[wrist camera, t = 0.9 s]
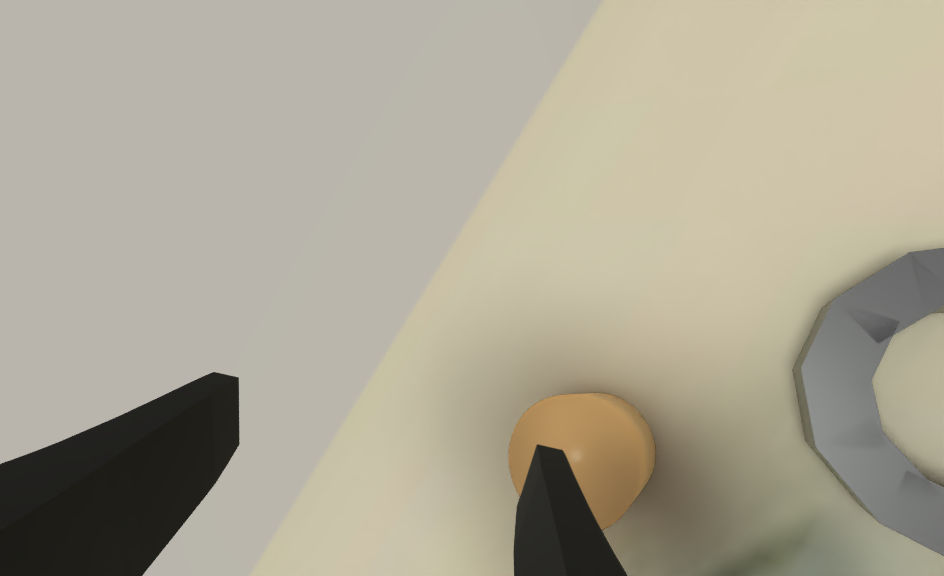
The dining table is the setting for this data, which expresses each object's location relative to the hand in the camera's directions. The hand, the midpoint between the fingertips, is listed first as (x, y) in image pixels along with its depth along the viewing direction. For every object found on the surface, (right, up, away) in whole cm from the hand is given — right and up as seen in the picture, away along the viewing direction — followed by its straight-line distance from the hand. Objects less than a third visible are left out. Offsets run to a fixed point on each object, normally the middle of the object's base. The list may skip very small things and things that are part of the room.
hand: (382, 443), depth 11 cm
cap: (+8, -4, +10) cm, 14 cm away
